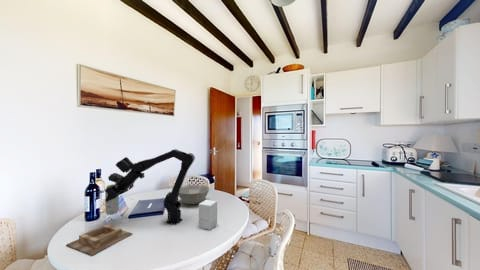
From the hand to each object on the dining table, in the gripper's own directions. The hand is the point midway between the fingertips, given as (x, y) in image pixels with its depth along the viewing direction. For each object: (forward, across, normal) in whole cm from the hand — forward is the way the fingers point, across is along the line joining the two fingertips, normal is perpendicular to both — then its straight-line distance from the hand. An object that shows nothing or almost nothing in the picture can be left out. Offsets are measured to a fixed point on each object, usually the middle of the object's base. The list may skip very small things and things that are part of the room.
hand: (109, 199), depth 105 cm
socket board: (+5, +17, +14) cm, 22 cm away
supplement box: (-28, +6, +48) cm, 56 cm away
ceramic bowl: (-19, -29, +38) cm, 51 cm away
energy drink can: (+5, 0, +6) cm, 8 cm away
